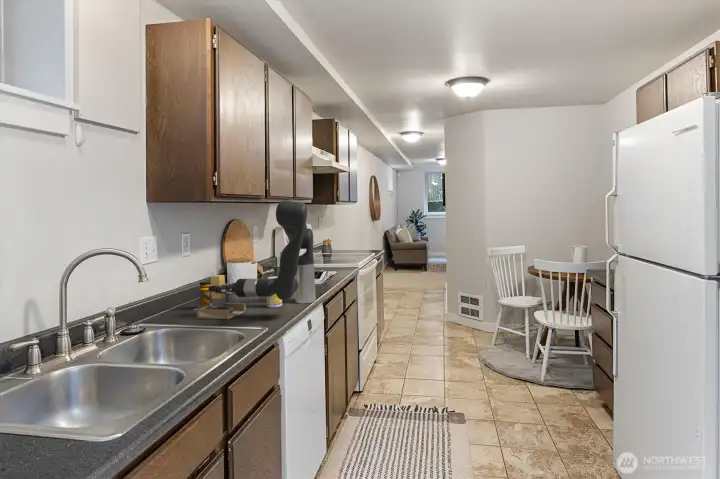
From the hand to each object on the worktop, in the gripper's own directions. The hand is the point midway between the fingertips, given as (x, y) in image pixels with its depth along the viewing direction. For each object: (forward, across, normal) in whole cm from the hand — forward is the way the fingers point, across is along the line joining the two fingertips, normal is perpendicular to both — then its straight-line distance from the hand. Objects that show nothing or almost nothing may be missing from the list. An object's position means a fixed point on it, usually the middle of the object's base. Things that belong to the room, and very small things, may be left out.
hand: (212, 287), depth 199 cm
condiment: (+11, -11, +11) cm, 20 cm away
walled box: (-4, 0, +11) cm, 12 cm away
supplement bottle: (-19, -18, +11) cm, 28 cm away
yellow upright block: (-3, 0, +7) cm, 8 cm away
